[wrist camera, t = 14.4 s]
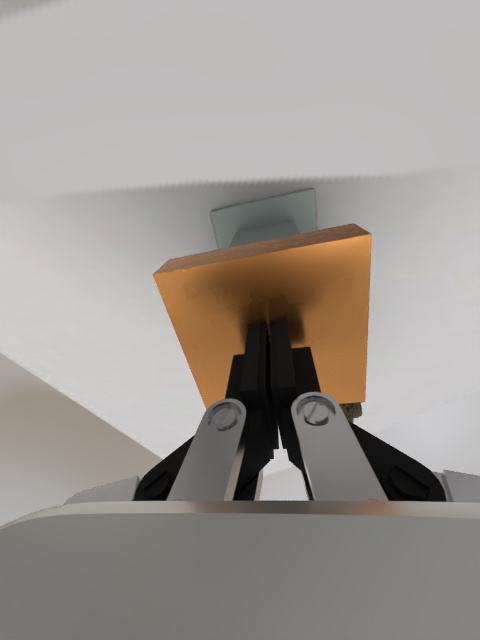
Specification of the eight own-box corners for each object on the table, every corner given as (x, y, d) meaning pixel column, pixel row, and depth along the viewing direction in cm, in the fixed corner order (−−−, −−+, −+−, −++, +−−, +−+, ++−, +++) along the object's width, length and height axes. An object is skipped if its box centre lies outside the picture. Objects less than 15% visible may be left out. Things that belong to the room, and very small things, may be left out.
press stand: (212, 210, 23) (170, 240, 13) (312, 187, 22) (352, 202, 11) (234, 297, 28) (214, 371, 17) (318, 284, 26) (352, 357, 16)
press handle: (211, 222, 20) (152, 274, 10) (313, 199, 19) (371, 233, 8) (233, 309, 24) (208, 413, 14) (320, 296, 23) (365, 402, 12)
